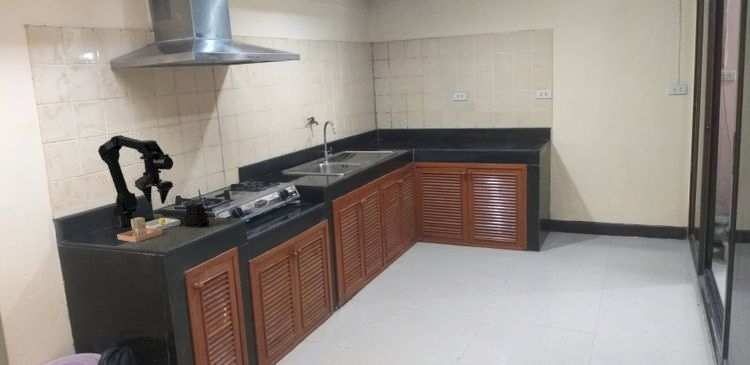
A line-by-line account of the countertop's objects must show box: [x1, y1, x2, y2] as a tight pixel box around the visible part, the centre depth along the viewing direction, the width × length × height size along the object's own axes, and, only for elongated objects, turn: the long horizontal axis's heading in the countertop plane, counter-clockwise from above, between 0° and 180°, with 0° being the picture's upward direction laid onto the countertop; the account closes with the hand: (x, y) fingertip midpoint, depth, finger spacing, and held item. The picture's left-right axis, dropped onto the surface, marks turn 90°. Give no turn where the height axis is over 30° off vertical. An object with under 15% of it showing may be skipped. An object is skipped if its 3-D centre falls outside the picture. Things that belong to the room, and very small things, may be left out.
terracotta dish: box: [116, 228, 163, 243], centre depth 257 cm, size 13×13×2 cm
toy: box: [182, 203, 213, 229], centre depth 268 cm, size 8×14×10 cm, turn 66°
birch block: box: [131, 216, 147, 237], centre depth 257 cm, size 4×4×8 cm
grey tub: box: [145, 217, 181, 231], centre depth 273 cm, size 13×13×2 cm
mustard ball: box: [158, 217, 166, 225], centre depth 277 cm, size 3×3×3 cm
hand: (156, 202), depth 270 cm, fingers open, 9 cm apart
